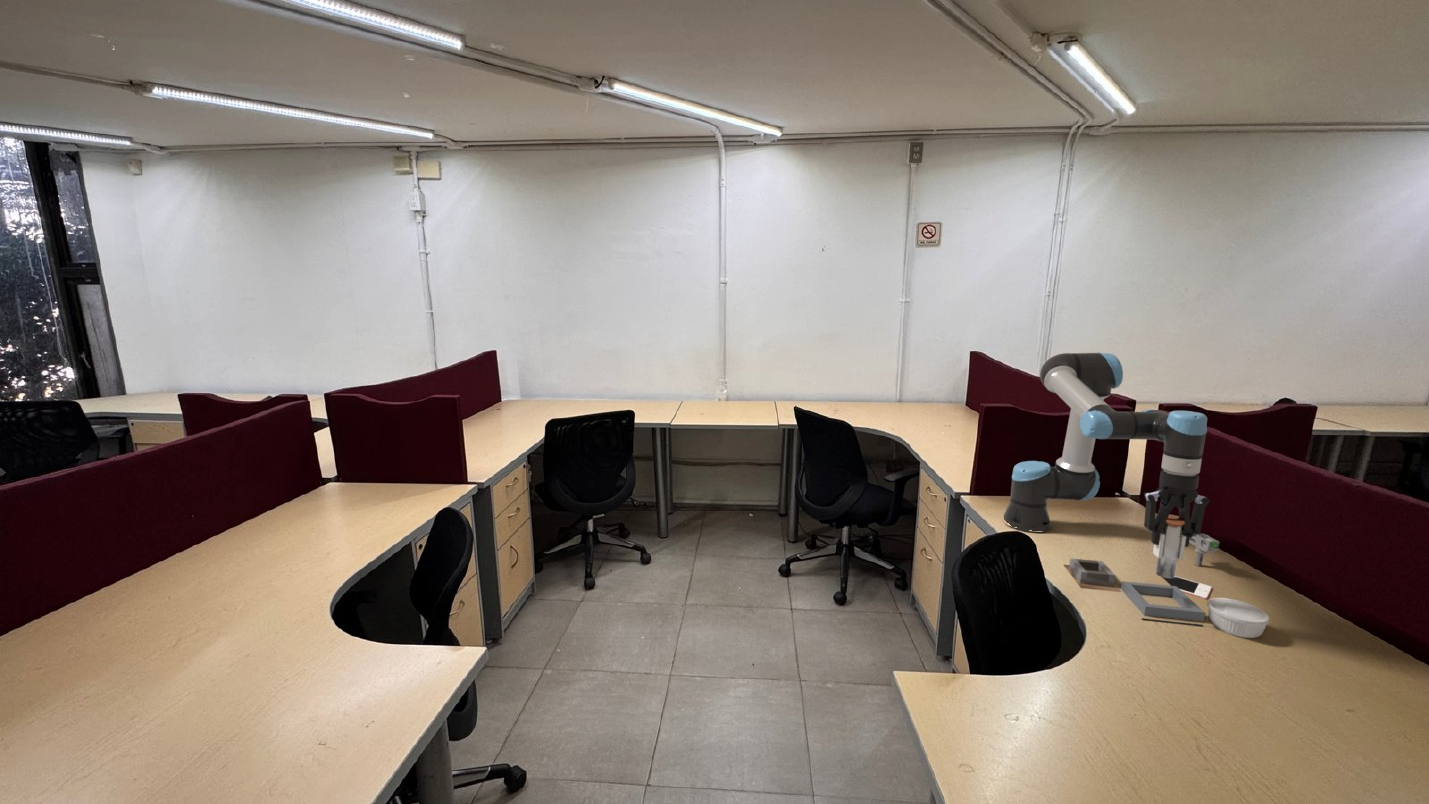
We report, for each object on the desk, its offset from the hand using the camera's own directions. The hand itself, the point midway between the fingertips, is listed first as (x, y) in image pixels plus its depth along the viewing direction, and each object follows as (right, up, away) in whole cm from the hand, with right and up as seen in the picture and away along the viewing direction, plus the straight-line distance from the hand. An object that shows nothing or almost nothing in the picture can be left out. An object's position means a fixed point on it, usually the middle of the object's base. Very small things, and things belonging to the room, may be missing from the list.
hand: (1167, 556), depth 142 cm
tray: (0, -15, +3) cm, 16 cm away
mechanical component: (+31, -10, +26) cm, 42 cm away
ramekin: (+13, -17, -5) cm, 22 cm away
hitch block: (-8, -13, +17) cm, 23 cm away
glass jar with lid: (0, -5, +1) cm, 5 cm away
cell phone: (+14, -13, +17) cm, 26 cm away
